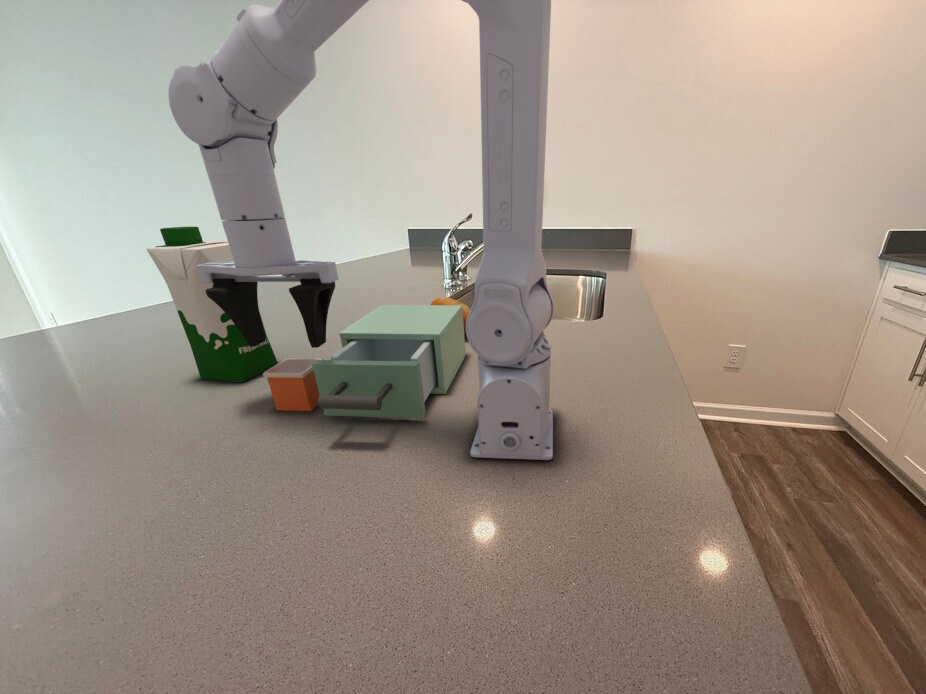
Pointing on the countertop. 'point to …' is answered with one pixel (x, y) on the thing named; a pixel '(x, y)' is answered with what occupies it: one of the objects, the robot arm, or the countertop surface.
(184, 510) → the countertop surface
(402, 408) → the drawer
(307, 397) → the plastic tub
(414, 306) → the green cabinet
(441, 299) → the fruit
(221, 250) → the milk carton
